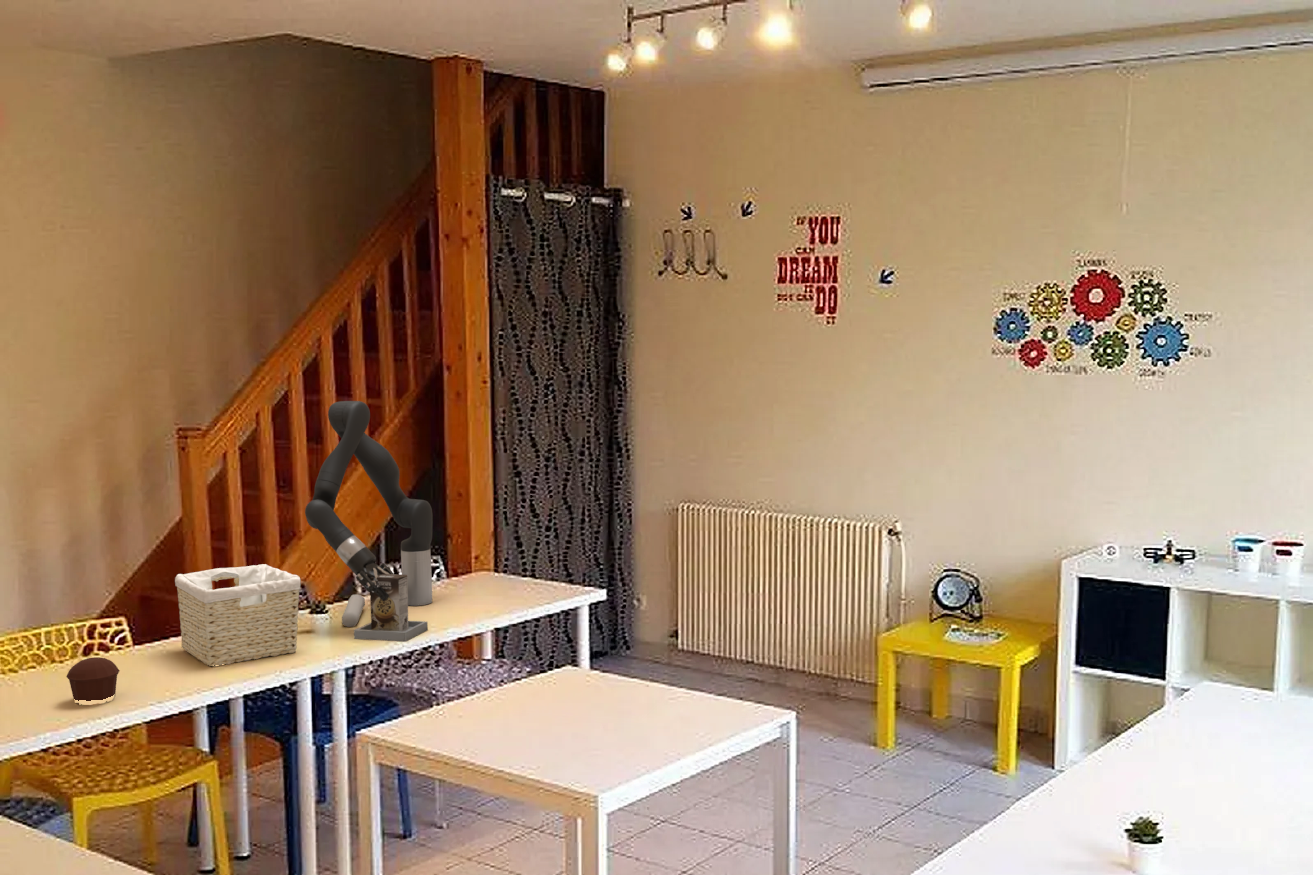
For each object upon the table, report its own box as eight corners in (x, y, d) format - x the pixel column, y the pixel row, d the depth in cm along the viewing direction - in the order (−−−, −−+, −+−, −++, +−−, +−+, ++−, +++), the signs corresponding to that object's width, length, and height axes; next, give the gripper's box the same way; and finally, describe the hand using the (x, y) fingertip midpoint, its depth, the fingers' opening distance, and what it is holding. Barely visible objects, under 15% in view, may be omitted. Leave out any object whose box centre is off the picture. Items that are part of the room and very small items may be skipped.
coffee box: (370, 633, 373) (368, 577, 372) (380, 627, 380) (378, 572, 378) (399, 634, 371) (397, 578, 370) (409, 629, 377) (407, 573, 376)
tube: (360, 614, 385) (367, 596, 410) (343, 609, 385) (350, 592, 409) (355, 631, 386) (362, 612, 410) (337, 627, 385) (345, 608, 409)
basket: (307, 653, 356) (303, 574, 354) (207, 670, 340) (203, 587, 338) (270, 636, 377) (267, 561, 375) (175, 651, 361) (171, 573, 359)
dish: (377, 627, 384) (377, 619, 384) (427, 630, 380) (427, 621, 380) (354, 638, 371) (353, 630, 371) (405, 641, 367) (405, 632, 366)
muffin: (109, 691, 322) (106, 650, 321) (129, 699, 314) (127, 658, 313) (59, 701, 313) (57, 660, 312) (79, 710, 305) (76, 668, 304)
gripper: (351, 550, 369) (390, 592, 366) (375, 542, 382) (413, 582, 380) (335, 568, 371) (373, 610, 368) (360, 559, 384) (397, 599, 382)
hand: (393, 596), depth 374 cm, fingers open, 8 cm apart
